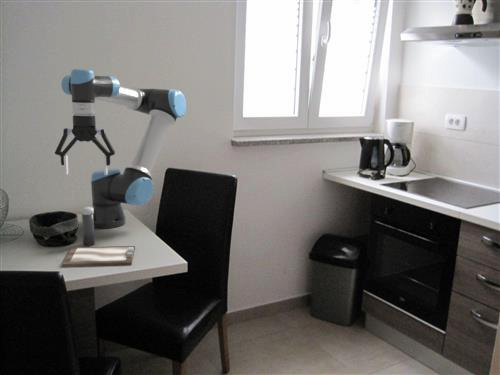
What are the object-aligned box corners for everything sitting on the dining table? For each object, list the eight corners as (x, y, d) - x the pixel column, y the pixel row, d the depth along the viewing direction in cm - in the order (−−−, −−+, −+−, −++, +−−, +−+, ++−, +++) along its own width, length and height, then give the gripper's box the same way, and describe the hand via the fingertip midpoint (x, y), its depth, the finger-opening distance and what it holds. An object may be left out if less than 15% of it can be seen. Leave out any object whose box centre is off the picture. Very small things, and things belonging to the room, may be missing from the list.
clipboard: (72, 249, 171) (72, 243, 171) (135, 248, 175) (135, 242, 174) (62, 266, 156) (62, 260, 156) (131, 264, 159) (131, 258, 159)
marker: (83, 242, 179) (82, 206, 176) (95, 242, 180) (94, 206, 177) (82, 246, 175) (80, 209, 172) (94, 246, 176) (93, 209, 173)
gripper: (43, 114, 161) (47, 176, 166) (119, 116, 165) (121, 176, 169) (49, 113, 168) (52, 172, 173) (121, 114, 172) (123, 172, 177)
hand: (86, 174), depth 171 cm, fingers open, 13 cm apart
